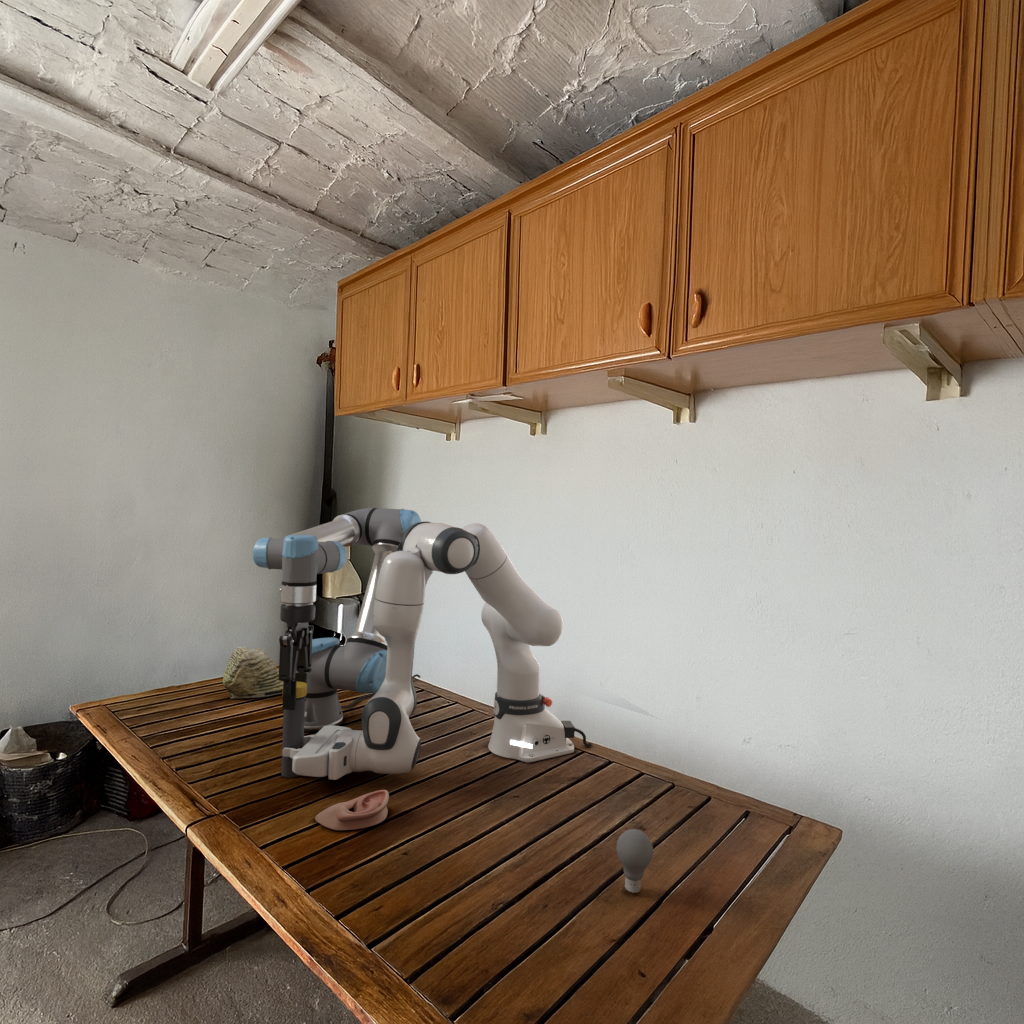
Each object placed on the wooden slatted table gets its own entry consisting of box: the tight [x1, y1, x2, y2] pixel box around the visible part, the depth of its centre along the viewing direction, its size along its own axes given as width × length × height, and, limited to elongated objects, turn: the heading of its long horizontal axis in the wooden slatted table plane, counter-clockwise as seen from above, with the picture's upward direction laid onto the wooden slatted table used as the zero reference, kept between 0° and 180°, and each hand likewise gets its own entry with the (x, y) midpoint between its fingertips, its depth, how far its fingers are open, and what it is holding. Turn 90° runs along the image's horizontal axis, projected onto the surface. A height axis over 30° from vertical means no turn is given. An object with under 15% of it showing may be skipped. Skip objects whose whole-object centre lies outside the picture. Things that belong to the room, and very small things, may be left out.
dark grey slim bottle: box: [280, 696, 305, 779], centre depth 144 cm, size 4×4×20 cm
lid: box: [281, 682, 307, 698], centre depth 144 cm, size 5×5×2 cm
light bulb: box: [615, 828, 654, 894], centre depth 106 cm, size 6×6×10 cm
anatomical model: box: [314, 789, 390, 831], centre depth 126 cm, size 13×4×12 cm
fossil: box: [222, 646, 283, 699], centre depth 198 cm, size 9×18×15 cm, turn 132°
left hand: (294, 704), depth 144 cm, fingers closed on lid, 5 cm apart
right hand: (288, 746), depth 144 cm, fingers closed on dark grey slim bottle, 4 cm apart
